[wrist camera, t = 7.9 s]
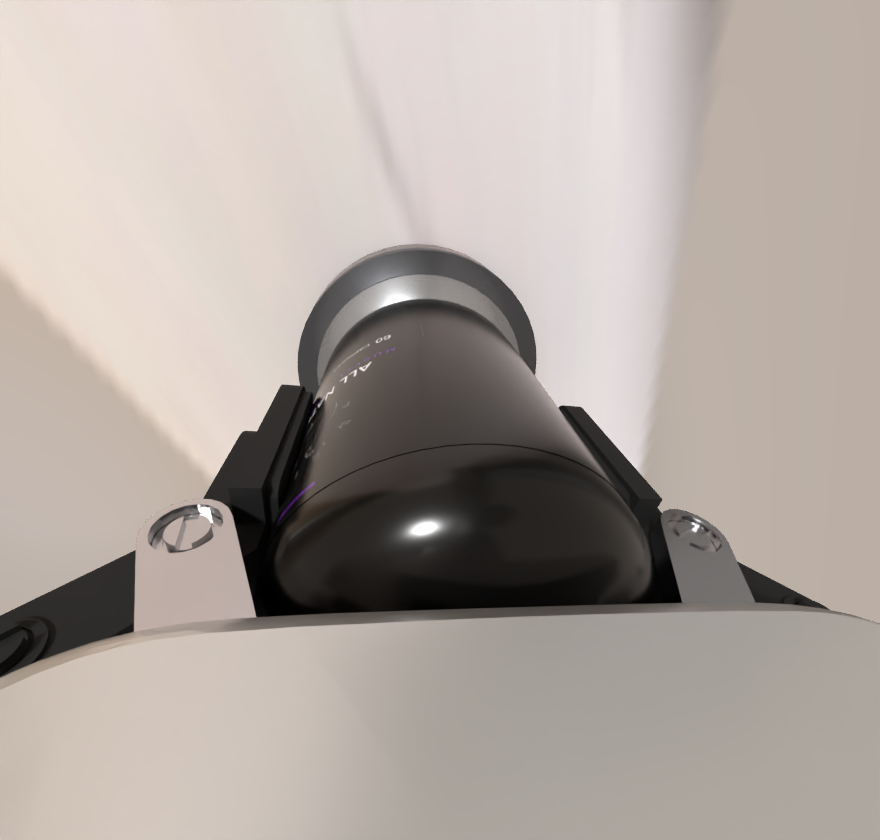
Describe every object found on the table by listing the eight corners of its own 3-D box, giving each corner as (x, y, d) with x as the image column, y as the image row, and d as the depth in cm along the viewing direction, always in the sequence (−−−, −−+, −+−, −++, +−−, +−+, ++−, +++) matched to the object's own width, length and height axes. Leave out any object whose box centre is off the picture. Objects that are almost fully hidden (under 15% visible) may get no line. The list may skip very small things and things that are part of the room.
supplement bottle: (314, 286, 11) (-315, 1218, 1) (532, 299, 12) (1235, 845, 2) (330, 467, 15) (215, 1074, 5) (498, 465, 16) (698, 961, 6)
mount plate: (299, 225, 12) (289, 230, 11) (552, 262, 14) (570, 271, 13) (308, 446, 17) (302, 468, 16) (497, 455, 19) (506, 476, 17)
